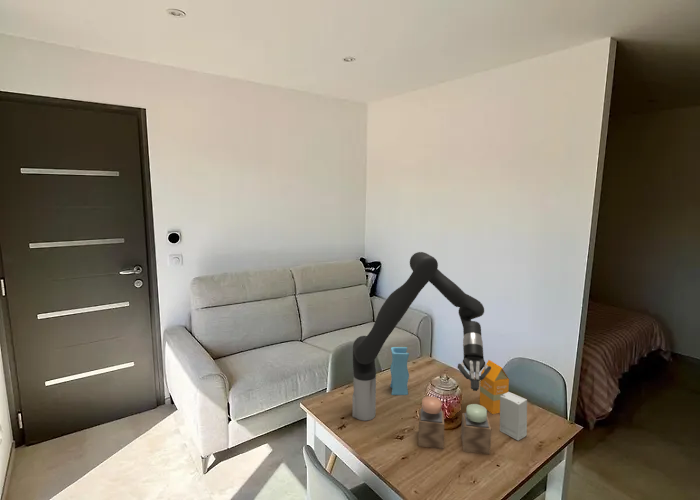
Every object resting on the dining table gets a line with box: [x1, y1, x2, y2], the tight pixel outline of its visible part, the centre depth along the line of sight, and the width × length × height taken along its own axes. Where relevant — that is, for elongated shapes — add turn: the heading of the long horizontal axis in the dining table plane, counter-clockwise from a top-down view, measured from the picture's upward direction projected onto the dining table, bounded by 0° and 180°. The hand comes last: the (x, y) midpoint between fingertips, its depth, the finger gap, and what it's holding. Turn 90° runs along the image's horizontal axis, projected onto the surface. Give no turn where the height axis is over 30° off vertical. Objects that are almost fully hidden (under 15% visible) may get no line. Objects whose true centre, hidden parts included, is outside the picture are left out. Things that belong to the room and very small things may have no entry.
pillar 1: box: [417, 408, 445, 450], centre depth 143 cm, size 9×9×10 cm
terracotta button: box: [421, 395, 442, 414], centre depth 142 cm, size 7×7×3 cm
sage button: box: [465, 403, 488, 422], centre depth 139 cm, size 7×7×3 cm
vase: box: [389, 346, 410, 396], centre depth 179 cm, size 8×8×20 cm
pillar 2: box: [460, 412, 492, 455], centre depth 140 cm, size 9×9×10 cm
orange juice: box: [479, 359, 510, 415], centre depth 165 cm, size 8×9×20 cm
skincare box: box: [499, 391, 528, 441], centre depth 147 cm, size 8×6×15 cm
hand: (475, 390), depth 143 cm, fingers closed
